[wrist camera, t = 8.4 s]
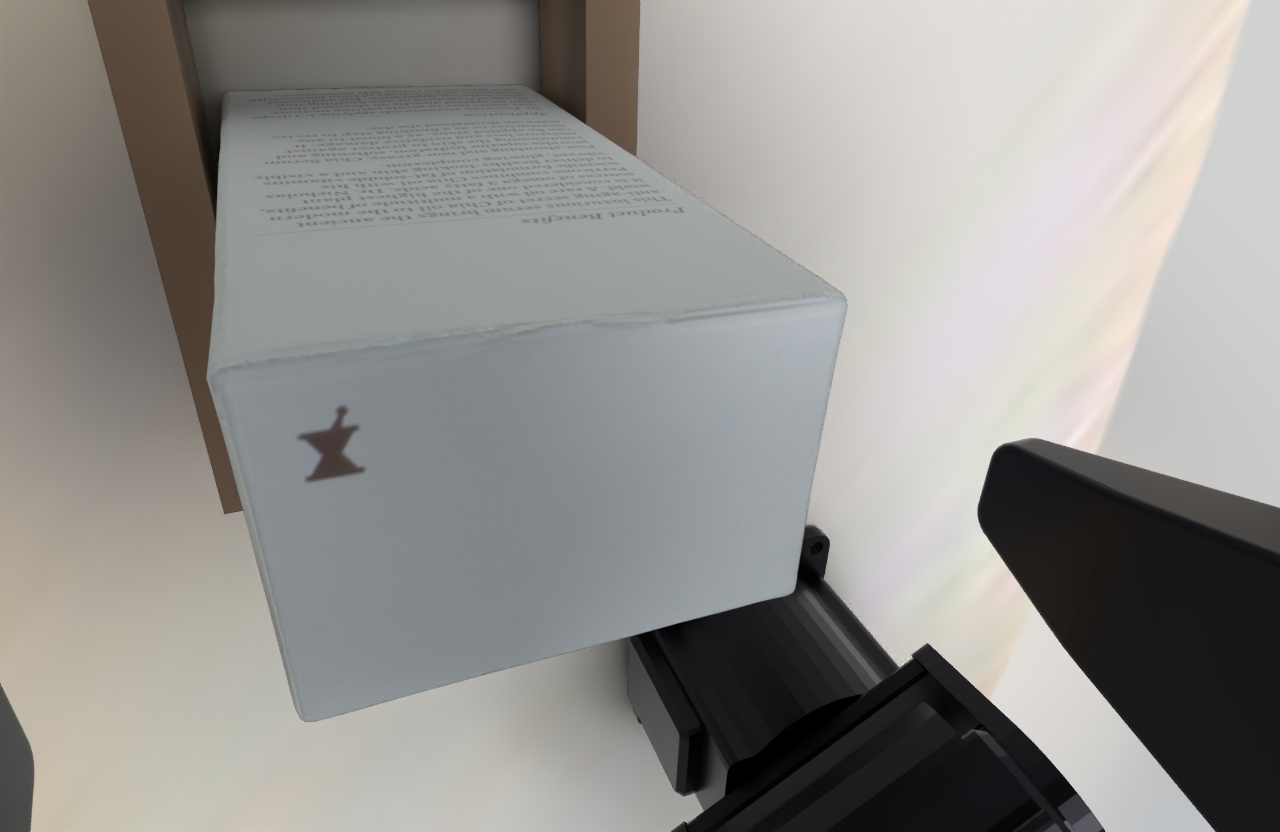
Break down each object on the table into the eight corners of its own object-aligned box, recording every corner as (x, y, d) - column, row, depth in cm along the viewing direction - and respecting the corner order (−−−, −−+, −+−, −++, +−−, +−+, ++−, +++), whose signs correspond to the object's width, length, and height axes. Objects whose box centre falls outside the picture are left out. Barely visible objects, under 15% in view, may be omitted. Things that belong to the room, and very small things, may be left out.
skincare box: (261, 300, 18) (279, 743, 9) (219, 86, 16) (181, 358, 6) (539, 272, 20) (806, 606, 11) (536, 79, 18) (863, 279, 9)
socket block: (585, -94, 17) (642, -94, 14) (587, 381, 22) (629, 439, 20) (89, -111, 14) (57, -114, 12) (226, 437, 19) (224, 513, 17)
